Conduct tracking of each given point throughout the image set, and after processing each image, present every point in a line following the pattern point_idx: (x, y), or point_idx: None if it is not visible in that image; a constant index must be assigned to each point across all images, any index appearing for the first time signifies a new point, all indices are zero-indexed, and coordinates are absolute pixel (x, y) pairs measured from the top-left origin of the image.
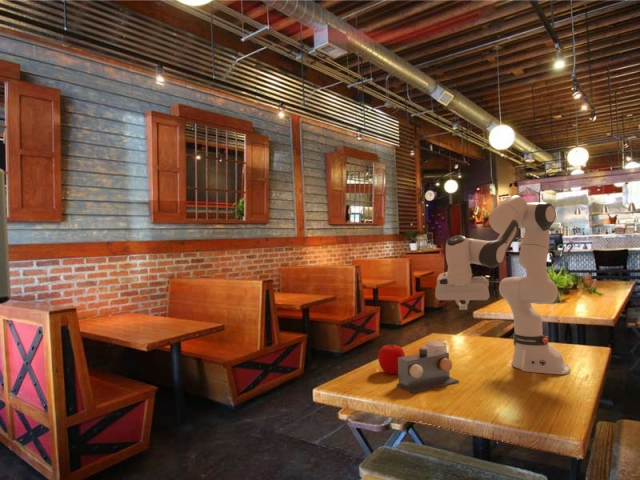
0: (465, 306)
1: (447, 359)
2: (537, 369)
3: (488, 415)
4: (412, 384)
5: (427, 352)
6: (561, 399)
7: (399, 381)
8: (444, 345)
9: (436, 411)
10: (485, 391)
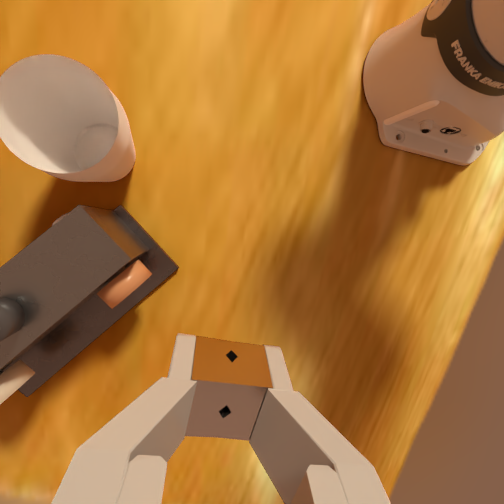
0: (256, 433)
1: (128, 294)
2: (419, 141)
3: (233, 484)
4: (16, 360)
5: (15, 321)
6: (403, 349)
7: None
8: (108, 153)
9: None
10: (247, 330)
